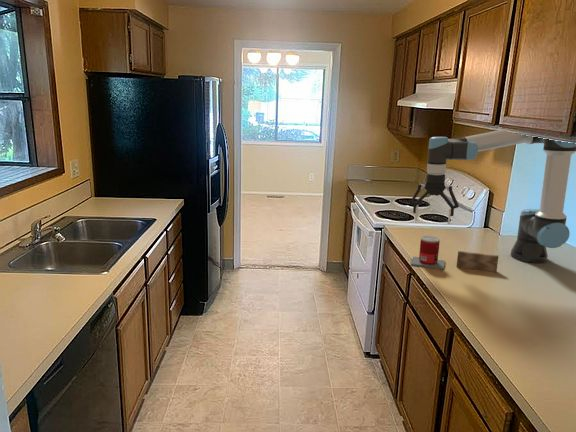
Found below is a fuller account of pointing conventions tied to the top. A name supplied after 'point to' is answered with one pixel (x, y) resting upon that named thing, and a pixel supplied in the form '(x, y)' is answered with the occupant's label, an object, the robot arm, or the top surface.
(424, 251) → the canned food
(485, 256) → the walnut screen
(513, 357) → the top surface
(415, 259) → the slate mat
